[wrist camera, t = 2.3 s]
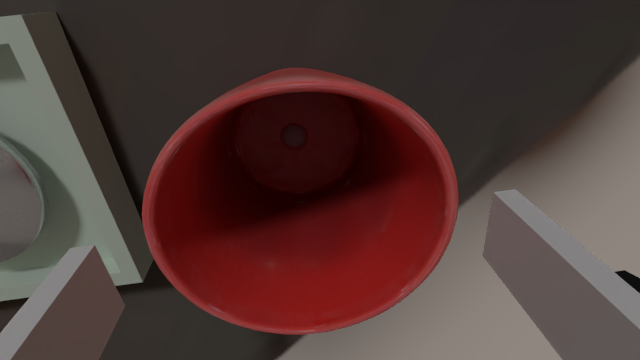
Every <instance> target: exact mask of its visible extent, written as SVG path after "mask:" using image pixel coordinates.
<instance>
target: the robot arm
mask: <svg viewBox="0 0 640 360" xmlns="http://www.w3.org/2000/svg"><path fill="white" fill-rule="evenodd" d="M483 257H484V258H485V259H486V260H487V262H488V263H489V265H490V266H491V267H492V268H493V270H494V271H495V272H496V273H497V275H498V276H499V278H500V279H501V280H502V281H503V283H504V284H505V285H506V287H507V288H508V289H509V291H510V292H511V293H512V294H513V296H514V297H515V298H516V300H517V301H518V302H519V304H520V305H521V306H522V307H523V309H524V310H525V311H526V312H527V314H528V315H529V316H530V318H531V319H532V320H533V322H534V323H535V324H536V326H537V327H538V328H539V330H541V332H542V333H543V335H544V336H545V337H546V339H547V340H548V341H549V342H550V344H551V345H552V346H553V348H554V349H555V350H556V351H557V353H558V354H559V355H560V357H561V358H562V359H563V360H640V278H638V277H636V276H634V275H632V274H630V273H628V272H626V271H617V272H613V271H612V270H611V269H610V268H609V267H608V266H606V265H605V264H604V263H603V262H601V261H600V260H599V259H598V258H597V257H596V256H594V255H593V254H592V253H591V252H590V251H588V250H587V249H586V248H585V247H584V246H582V245H581V244H580V243H579V242H578V241H576V240H575V239H574V238H573V237H572V236H570V235H569V234H568V233H567V232H566V231H565V230H563V229H562V228H561V227H560V226H559V225H557V224H556V223H555V222H554V221H552V220H551V219H550V218H549V217H548V216H546V215H545V214H544V213H543V212H542V211H540V210H539V209H538V208H537V207H536V206H535V205H533V204H532V203H531V202H530V201H529V200H527V199H526V198H525V197H524V196H523V195H521V194H520V193H519V192H518V191H517V190H515V189H514V190H507V191H500V192H494V193H493V198H492V203H491V209H490V215H489V221H488V227H487V233H486V239H485V245H484V251H483ZM124 307H125V305H124V303H123V301H122V299H121V297H120V295H119V293H118V291H117V289H116V287H115V284H114V282H113V280H112V278H111V276H110V274H109V272H108V270H107V268H106V266H105V264H104V262H103V260H102V258H101V256H100V254H99V252H98V250H97V248H96V246H95V245H90V246H82V247H75V248H70V249H69V250H68V251H67V253H66V254H65V255H64V256H63V258H62V259H61V260H60V261H59V262H58V264H57V265H56V266H55V267H54V268H53V270H52V271H51V272H50V273H49V275H48V276H47V277H46V278H45V279H44V281H43V282H42V283H41V284H40V286H39V287H38V288H37V289H36V290H35V292H34V293H33V294H32V295H31V296H30V298H29V299H28V300H27V301H26V303H25V304H24V305H23V306H22V307H21V309H20V310H19V311H18V312H17V313H16V315H15V316H14V317H13V318H12V320H11V321H10V322H9V323H8V324H7V326H6V327H5V328H4V329H3V331H2V332H1V333H0V360H99V358H100V356H101V354H102V352H103V350H104V348H105V346H106V344H107V342H108V340H109V338H110V336H111V334H112V332H113V329H114V327H115V325H116V323H117V321H118V319H119V317H120V315H121V313H122V311H123V309H124Z"/></svg>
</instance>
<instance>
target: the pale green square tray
mask: <svg viewBox="0 0 640 360" xmlns="http://www.w3.org/2000/svg"><path fill="white" fill-rule="evenodd" d="M0 136H2V137H3V138H4V139H6V140H7V141H8V142H9V143H11V144H12V145H13V146H14V147H15V148H17V149H18V151H19V152H20V153H21V154H22V155H23V156H24V157H25V158H26V159H27V160H28V161H29V163H30V164H31V165H32V166H33V168H34V169H35V171H36V172H37V174H38V175H39V177H40V179H41V181H42V183H43V185H44V187H45V191H46V194H47V197H48V205H49V210H48V218H47V222H46V225H45V227H44V229H43V231H42V232H41V233H40V235H39V236H38V237H37V238H36V239H35V240H34V241H33V242H32V243H31V245H30V246H28V247H27V248H26V249H25V250H24V251H23V252H22V253H20V254H19V255H17V256H15V257H13V258H11V259H9V260H6V261H3V262H0V301H5V300H13V299H20V298H28V297H30V296H31V295H32V294H33V293H34V292H35V290H36V289H37V288H38V287H39V286H40V284H41V283H42V282H43V281H44V279H45V278H46V277H47V276H48V275H49V273H50V272H51V271H52V270H53V268H54V267H55V266H56V265H57V264H58V262H59V261H60V260H61V259H62V258H63V256H64V255H65V254H66V253H67V251H68V250H69V249H70V248H75V247H82V246H90V245H95V246H96V248H97V250H98V252H99V254H100V256H101V258H102V260H103V262H104V264H105V266H106V268H107V270H108V272H109V274H110V276H111V278H112V280H113V282H114V284H115V286H118V285H125V284H133V283H140V282H143V281H144V279H145V276H146V274H147V272H148V270H149V268H150V266H151V264H152V262H153V259H154V258H153V256H152V254H151V251H150V249H149V246H148V243H147V240H146V237H145V233H144V229H143V224H142V221H141V219H140V216H139V214H138V211H137V209H136V207H135V204H134V202H133V199H132V197H131V194H130V192H129V189H128V187H127V185H126V182H125V180H124V177H123V175H122V172H121V170H120V168H119V165H118V163H117V160H116V158H115V155H114V153H113V151H112V148H111V146H110V143H109V141H108V138H107V136H106V134H105V131H104V129H103V126H102V124H101V121H100V119H99V116H98V114H97V112H96V109H95V107H94V104H93V102H92V99H91V97H90V95H89V92H88V90H87V87H86V85H85V82H84V80H83V78H82V75H81V73H80V70H79V68H78V65H77V63H76V60H75V58H74V56H73V53H72V51H71V48H70V46H69V43H68V41H67V39H66V36H65V34H64V31H63V29H62V26H61V24H60V22H59V19H58V17H57V14H56V12H55V11H53V12H43V13H33V14H24V15H14V16H4V17H0Z"/></svg>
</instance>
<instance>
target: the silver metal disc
mask: <svg viewBox="0 0 640 360" xmlns="http://www.w3.org/2000/svg"><path fill="white" fill-rule="evenodd" d="M48 210H49V205H48V197H47V194H46V191H45V187H44V185H43V183H42V181H41V179H40V177H39V175H38V174H37V172H36V171H35V169H34V168H33V166H32V165H31V164H30V163H29V161H28V160H27V159H26V158H25V157H24V156H23V155H22V154H21V153H20V152H19V151H18V149H17V148H15V147H14V146H13V145H12V144H11V143H9V142H8V141H7V140H6V139H4V138H3V137H2V136H0V262H3V261H6V260H9V259H11V258H13V257H15V256H17V255H19V254H20V253H22V252H23V251H24V250H25V249H26V248H27V247H28V246H30V245H31V243H32V242H33V241H34V240H35V239H36V238H37V237H38V236H39V235H40V233H41V232H42V231H43V229H44V227H45V225H46V222H47V218H48Z"/></svg>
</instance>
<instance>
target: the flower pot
mask: <svg viewBox="0 0 640 360" xmlns="http://www.w3.org/2000/svg"><path fill="white" fill-rule="evenodd" d="M457 213H458V187H457V180H456V175H455V170H454V167H453V164H452V161H451V159H450V156H449V153H448V151H447V150H446V148H445V146H444V144H443V143H442V141H441V139H440V137H439V136H438V135H437V133H436V132H435V131H434V130H433V128H432V127H431V126H430V125H429V124H428V123H427V122H426V121H425V120H424V119H423V118H422V117H421V116H420V115H419V114H418V113H417V112H416V111H414V110H413V109H412V108H410V107H409V106H408V105H406V104H405V103H403V102H402V101H400V100H398V99H397V98H395V97H393V96H392V95H390V94H388V93H386V92H384V91H382V90H380V89H378V88H375V87H373V86H370V85H368V84H365V83H362V82H360V81H357V80H354V79H351V78H348V77H344V76H341V75H337V74H334V73H329V72H325V71H320V70H315V69H307V68H286V69H280V70H277V71H273V72H270V73H268V74H265V75H263V76H260V77H258V78H255V79H253V80H251V81H249V82H247V83H245V84H242V85H240V86H238V87H236V88H234V89H232V90H230V91H228V92H227V93H225V94H223V95H222V96H220V97H218V98H217V99H215V100H213V101H212V102H210V103H209V104H208V105H206V106H205V107H203V108H202V109H200V110H199V111H198V112H196V113H195V114H194V115H193V116H191V117H190V118H189V119H188V120H187V121H186V122H185V123H184V124H183V125H182V126H181V127H180V128H179V129H178V130H177V131H176V132H175V133H174V134H173V135H172V137H171V138H170V139H169V140H168V141H167V143H166V144H165V146H164V147H163V149H162V150H161V151H160V153H159V155H158V157H157V159H156V161H155V163H154V165H153V167H152V169H151V172H150V175H149V178H148V181H147V184H146V188H145V192H144V197H143V205H142V222H143V229H144V233H145V237H146V240H147V243H148V246H149V249H150V251H151V254H152V256H153V258H154V260H155V262H156V264H157V265H158V267H159V268H160V270H161V271H162V273H163V274H164V275H165V277H166V278H167V279H168V280H169V282H170V283H171V284H172V285H173V286H174V287H175V288H176V289H177V290H178V291H179V292H180V293H181V294H182V295H184V296H185V297H186V298H187V299H188V300H190V301H191V302H192V303H194V304H195V305H196V306H198V307H199V308H201V309H203V310H204V311H206V312H208V313H210V314H211V315H214V316H216V317H218V318H220V319H222V320H224V321H227V322H229V323H232V324H235V325H238V326H242V327H245V328H249V329H253V330H257V331H262V332H269V333H276V334H291V335H301V334H313V333H321V332H328V331H333V330H336V329H340V328H344V327H348V326H351V325H354V324H357V323H360V322H362V321H365V320H367V319H370V318H372V317H374V316H376V315H379V314H380V313H382V312H384V311H386V310H388V309H389V308H391V307H393V306H394V305H396V304H397V303H399V302H400V301H401V300H403V299H404V298H405V297H407V296H408V295H409V294H410V293H412V292H413V291H414V290H415V289H416V288H417V287H418V286H419V285H420V284H421V283H422V282H423V281H424V280H425V279H426V278H427V277H428V275H429V274H430V273H431V272H432V271H433V269H434V268H435V267H436V265H437V264H438V263H439V261H440V259H441V257H442V256H443V254H444V252H445V250H446V248H447V246H448V244H449V242H450V239H451V236H452V233H453V230H454V226H455V222H456V218H457Z"/></svg>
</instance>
